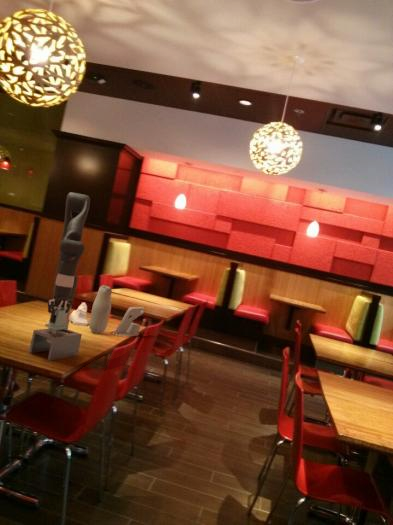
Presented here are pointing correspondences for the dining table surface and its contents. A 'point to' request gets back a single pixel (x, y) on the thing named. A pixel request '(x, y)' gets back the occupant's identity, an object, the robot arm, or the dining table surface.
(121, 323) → the phone holder
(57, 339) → the grey open box
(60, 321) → the boxy toy figurine
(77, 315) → the soft serve ice cream
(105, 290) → the grey vase
